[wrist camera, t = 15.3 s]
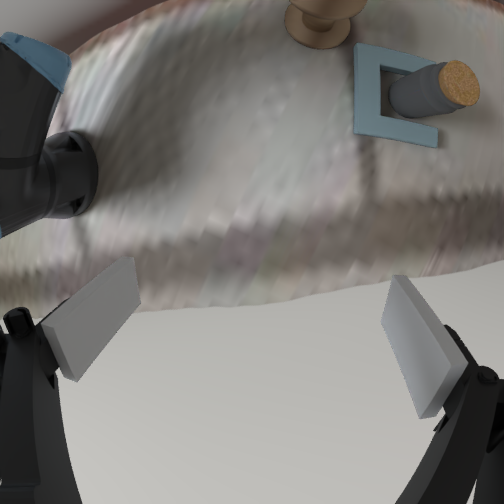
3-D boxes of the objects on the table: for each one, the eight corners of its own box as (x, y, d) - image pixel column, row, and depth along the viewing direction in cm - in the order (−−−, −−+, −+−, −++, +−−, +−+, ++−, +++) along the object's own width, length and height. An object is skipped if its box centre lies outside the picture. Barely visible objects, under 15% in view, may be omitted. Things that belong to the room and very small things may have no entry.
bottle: (429, 110, 31) (491, 102, 17) (400, 124, 32) (457, 119, 19) (410, 74, 29) (466, 49, 15) (380, 87, 31) (428, 62, 17)
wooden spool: (284, 46, 31) (283, 11, 20) (284, -3, 27) (282, -45, 17) (350, 53, 30) (372, 22, 19) (346, 3, 26) (363, -35, 16)
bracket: (353, 133, 34) (357, 133, 32) (353, 47, 29) (357, 42, 27) (429, 147, 33) (437, 147, 31) (428, 65, 28) (435, 62, 26)
